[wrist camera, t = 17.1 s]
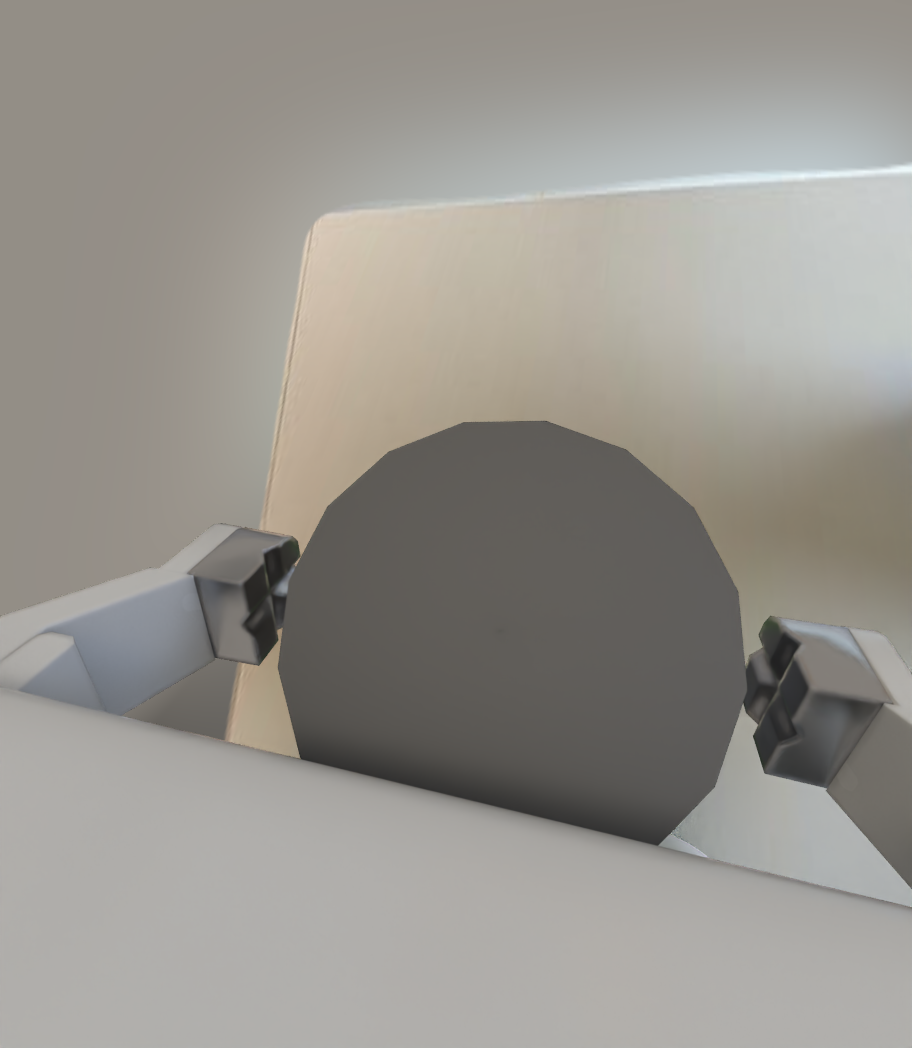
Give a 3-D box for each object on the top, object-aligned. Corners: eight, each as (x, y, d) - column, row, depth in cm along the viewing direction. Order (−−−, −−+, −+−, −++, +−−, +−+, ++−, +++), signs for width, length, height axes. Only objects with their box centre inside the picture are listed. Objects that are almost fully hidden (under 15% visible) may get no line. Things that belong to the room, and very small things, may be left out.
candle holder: (480, 594, 32) (337, 370, 8) (585, 618, 31) (797, 442, 7) (456, 700, 30) (190, 827, 6) (565, 730, 29) (739, 1017, 5)
